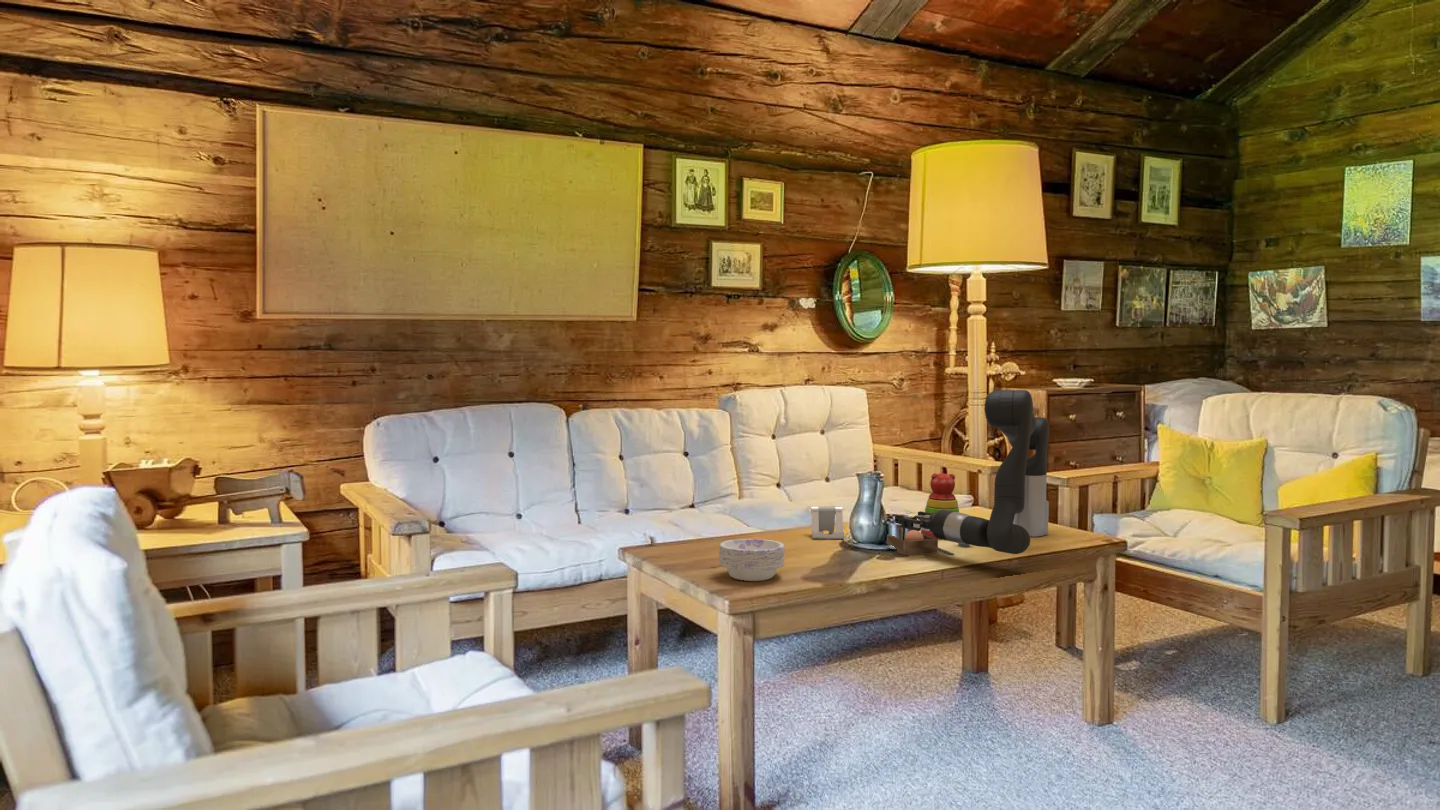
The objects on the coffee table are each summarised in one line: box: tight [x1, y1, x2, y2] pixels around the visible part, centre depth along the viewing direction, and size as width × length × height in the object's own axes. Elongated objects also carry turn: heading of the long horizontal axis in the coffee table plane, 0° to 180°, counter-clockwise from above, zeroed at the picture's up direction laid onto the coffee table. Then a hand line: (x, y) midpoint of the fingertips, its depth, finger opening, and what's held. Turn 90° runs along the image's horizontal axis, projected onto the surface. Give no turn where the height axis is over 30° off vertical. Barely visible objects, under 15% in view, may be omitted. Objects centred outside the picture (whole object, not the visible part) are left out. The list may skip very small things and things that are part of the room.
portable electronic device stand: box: [810, 505, 845, 540], centre depth 282 cm, size 9×8×8 cm
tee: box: [957, 543, 971, 548], centre depth 271 cm, size 4×4×5 cm
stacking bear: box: [920, 472, 960, 540], centre depth 283 cm, size 11×10×18 cm
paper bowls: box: [718, 538, 786, 582], centre depth 237 cm, size 15×15×8 cm
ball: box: [904, 529, 924, 541], centre depth 265 cm, size 5×5×5 cm
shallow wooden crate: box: [886, 532, 939, 556], centre depth 266 cm, size 10×10×4 cm
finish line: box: [938, 547, 955, 556], centre depth 268 cm, size 1×16×1 cm, turn 19°
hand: (907, 517), depth 267 cm, fingers open, 8 cm apart
